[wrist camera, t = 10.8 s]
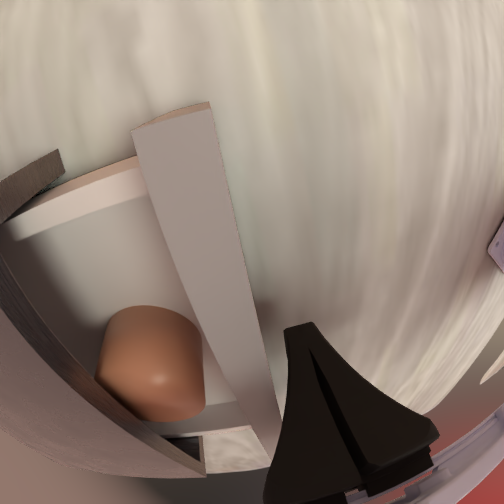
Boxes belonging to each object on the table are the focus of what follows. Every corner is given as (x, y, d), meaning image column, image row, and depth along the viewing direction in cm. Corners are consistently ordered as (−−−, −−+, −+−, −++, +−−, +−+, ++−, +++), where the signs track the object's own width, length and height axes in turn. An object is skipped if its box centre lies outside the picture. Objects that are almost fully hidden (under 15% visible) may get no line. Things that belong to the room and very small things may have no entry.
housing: (68, 412, 18) (60, 464, 13) (-70, 239, 7) (-116, 295, 2) (200, 409, 19) (206, 476, 14) (57, 149, 8) (-49, 218, 3)
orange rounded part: (112, 292, 11) (93, 355, 8) (216, 321, 13) (223, 385, 10) (103, 354, 13) (93, 407, 10) (186, 374, 15) (188, 427, 12)
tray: (134, 415, 18) (131, 473, 14) (-23, 203, 8) (-92, 270, 3) (275, 396, 19) (291, 461, 14) (208, 101, 8) (210, 108, 3)
